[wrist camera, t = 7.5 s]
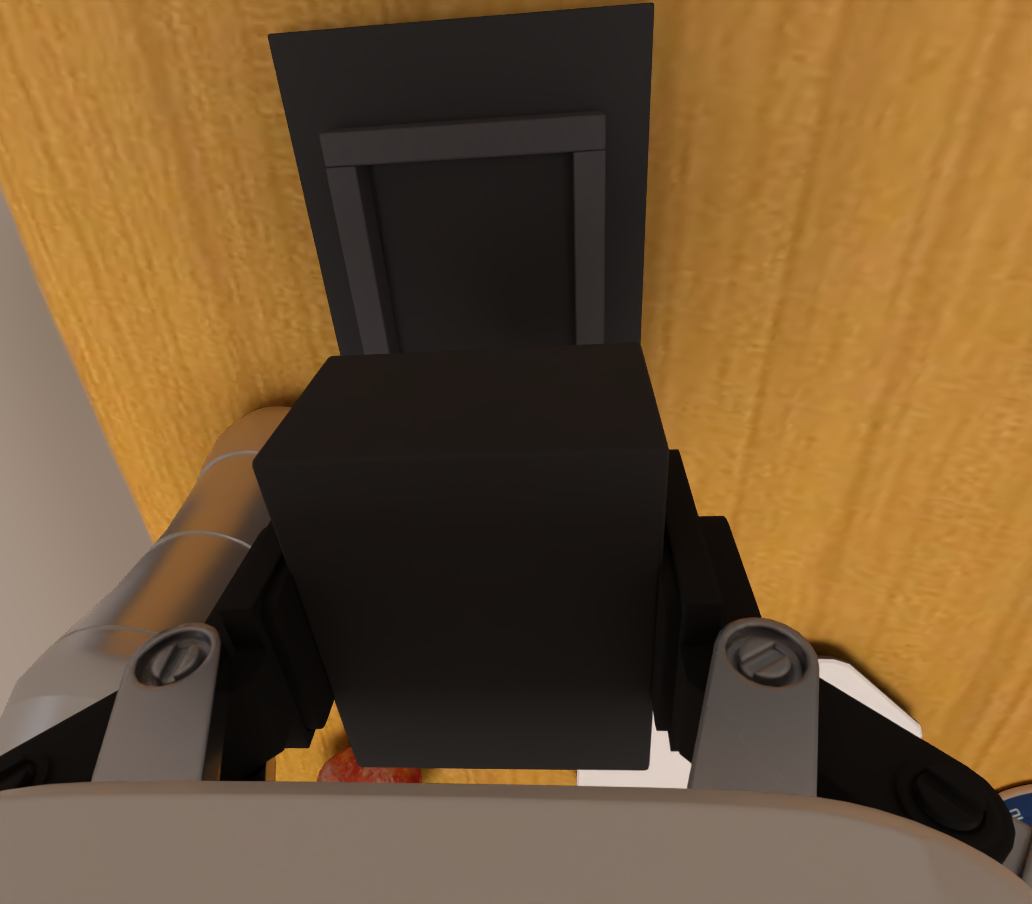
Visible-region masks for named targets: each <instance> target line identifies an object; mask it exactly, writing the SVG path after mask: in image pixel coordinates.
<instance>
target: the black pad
mask: <svg viewBox="0 0 1032 904" xmlns="http://www.w3.org/2000/svg"><path fill="white" fill-rule="evenodd" d="M668 466H669V448H668V444H667V441H666V437H665V433H664V429H663V426H662V422H661V418H660V415H659V411H658V407H657V404H656V400H655V396H654V392H653V389H652V385H651V381H650V378H649V374H648V370H647V367H646V363H645V359H644V356H643V352H642V348H641V345H640V343H637V342H627V343H605V344H584V345H562V346H541V347H519V348H498V349H476V350H455V351H433V352H412V353H390V354H369V355H348V356H331V357H329V358H328V359H327V360H326V362H325V363H324V364H323V366H322V367H321V368H320V370H319V371H318V373H317V374H316V375H315V377H314V378H313V379H312V381H311V382H310V383H309V385H308V386H307V387H306V389H305V390H304V391H303V393H302V394H301V396H300V397H299V398H298V400H297V401H296V402H295V404H294V405H293V406H292V408H291V409H290V410H289V412H288V413H287V414H286V416H285V417H284V419H283V420H282V421H281V423H280V424H279V425H278V427H277V428H276V429H275V431H274V432H273V433H272V435H271V436H270V438H269V439H268V440H267V442H266V443H265V444H264V446H263V447H262V448H261V450H260V451H259V452H258V454H257V455H256V456H255V458H254V459H253V462H252V468H253V471H254V474H255V476H256V479H257V482H258V485H259V488H260V491H261V493H262V496H263V499H264V502H265V505H266V508H267V510H268V513H269V516H270V519H271V522H272V525H273V527H274V530H275V533H276V536H277V539H278V541H279V544H280V547H281V550H282V553H283V556H284V558H285V561H286V564H287V567H288V570H289V573H290V575H291V578H292V581H293V583H294V586H295V589H296V592H297V595H298V598H299V600H300V603H301V606H302V609H303V612H304V615H305V617H306V620H307V623H308V626H309V629H310V632H311V634H312V637H313V640H314V643H315V646H316V649H317V651H318V654H319V657H320V660H321V663H322V665H323V668H324V671H325V674H326V677H327V680H328V682H329V685H330V688H331V691H332V694H333V697H334V700H335V703H336V706H337V708H338V711H339V714H340V717H341V720H342V723H343V725H344V728H345V731H346V734H347V737H348V740H349V742H350V745H351V748H352V751H353V754H354V756H355V759H356V762H357V765H358V766H360V767H378V768H463V769H549V770H634V771H645V770H648V768H649V765H650V749H651V733H652V718H653V707H652V683H653V667H654V650H655V634H656V617H657V601H658V584H659V568H660V567H661V565H662V560H663V544H664V529H665V513H666V497H667V481H668Z"/></svg>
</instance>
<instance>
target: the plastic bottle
mask: <svg viewBox="0 0 1032 904" xmlns="http://www.w3.org/2000/svg"><path fill="white" fill-rule="evenodd" d="M291 408H292V407H283V406H273V407H264V408H261V409H258V410H255V411H253V412H251V413H249V414H248V415H246V416H244V417H243V418H241V419H240V420H238V421H237V422H236V423H234V424H233V425H231V426H230V427H229V428H227V429H226V430H225V431H224V432H223V433H222V434H221V435H220V436H219V437H218V439H217V441H216V443H215V444H214V446H213V448H212V450H211V452H210V453H209V455H208V457H207V459H206V461H205V463H204V464H203V466H202V469H201V471H200V474H199V476H198V479H197V483H196V484H195V486H194V488H193V489H192V491H191V492H190V494H189V495H188V497H187V499H186V500H185V502H184V503H183V505H182V507H181V508H180V510H179V511H178V513H177V514H176V516H175V518H174V519H173V521H172V522H171V524H170V525H169V527H168V529H167V530H166V532H165V533H164V534H163V535H162V536H161V537H160V538H159V539H158V540H157V542H156V543H155V544H154V545H153V546H152V547H151V548H150V550H149V551H148V552H147V553H146V554H145V556H143V557H142V558H141V559H140V561H139V562H138V563H137V564H136V565H135V566H134V567H133V568H132V569H131V571H130V572H129V573H128V574H127V575H126V576H125V577H124V578H123V580H122V581H121V582H120V583H119V584H118V585H117V586H116V587H115V588H114V589H113V590H112V591H111V592H110V593H109V594H108V595H106V596H105V597H104V598H103V599H102V600H101V601H100V602H99V603H98V604H97V605H96V606H94V607H93V608H92V609H91V610H90V611H89V612H88V613H87V614H86V615H85V616H84V617H83V618H81V619H80V620H79V621H78V622H77V623H76V624H75V625H74V626H73V627H71V628H70V629H69V630H68V631H67V632H66V633H65V634H64V635H63V636H62V637H61V638H60V639H58V640H57V642H55V643H54V644H53V645H52V646H50V648H49V649H48V650H46V651H45V652H44V653H43V654H42V655H41V656H40V657H39V658H38V659H37V660H36V662H35V663H34V664H33V665H32V666H31V667H30V668H29V669H28V670H27V671H26V672H25V673H24V674H23V675H22V676H21V677H20V678H19V679H18V681H17V682H16V684H15V686H14V689H13V691H12V693H11V695H10V698H9V700H8V703H7V705H6V707H5V710H4V712H3V714H2V716H1V718H0V756H1V755H2V754H4V753H6V752H8V751H10V750H11V749H13V748H15V747H17V746H19V745H20V744H22V743H24V742H26V741H28V740H29V739H31V738H33V737H35V736H37V735H38V734H40V733H42V732H44V731H45V730H47V729H49V728H51V727H53V726H54V725H56V724H58V723H60V722H62V721H63V720H65V719H67V718H69V717H71V716H72V715H74V714H76V713H78V712H80V711H81V710H83V709H85V708H87V707H88V706H90V705H92V704H94V703H96V702H97V701H99V700H101V699H103V698H105V697H106V696H108V695H110V694H112V693H114V692H115V691H117V690H118V689H119V686H120V683H121V679H122V676H123V673H124V669H125V667H126V665H127V663H128V661H129V659H130V657H131V656H132V655H133V654H134V653H135V651H136V650H137V649H138V648H139V647H140V646H141V645H142V644H144V643H145V642H146V641H147V640H149V639H150V638H151V637H153V636H154V635H156V634H158V633H160V632H162V631H164V630H165V629H168V628H171V627H174V626H177V625H180V624H185V623H192V622H197V623H205V621H206V619H207V618H208V616H209V615H210V613H211V611H212V610H213V608H214V606H215V605H216V603H217V602H218V600H219V598H220V597H221V595H222V593H223V592H224V590H225V588H226V587H227V585H228V584H229V582H230V580H231V579H232V577H233V575H234V574H235V572H236V571H237V569H238V567H239V566H240V564H241V562H242V561H243V559H244V558H245V556H246V554H247V553H248V551H249V549H250V548H251V546H252V544H253V543H254V541H255V540H256V538H257V536H258V535H259V533H260V532H261V531H262V530H263V529H264V528H266V527H267V525H268V524H269V522H270V520H271V519H270V516H269V513H268V510H267V508H266V505H265V502H264V499H263V496H262V493H261V491H260V488H259V485H258V482H257V479H256V476H255V474H254V471H253V468H252V462H253V459H254V458H255V456H256V455H257V454H258V452H259V451H260V450H261V448H262V447H263V446H264V444H265V443H266V442H267V440H268V439H269V438H270V436H271V435H272V433H273V432H274V431H275V429H276V428H277V427H278V425H279V424H280V423H281V421H282V420H283V419H284V417H285V416H286V414H287V413H288V412H289V410H290V409H291Z"/></svg>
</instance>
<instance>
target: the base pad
mask: <svg viewBox="0 0 1032 904" xmlns="http://www.w3.org/2000/svg"><path fill="white" fill-rule="evenodd" d="M653 22H654V3H640V4H628V5H615V6H603V7H591V8H579V9H567V10H554V11H542V12H530V13H518V14H506V15H493V16H481V17H469V18H457V19H445V20H433V21H420V22H408V23H396V24H384V25H372V26H359V27H347V28H335V29H323V30H311V31H298V32H286V33H274V34H268V40H269V44H270V49H271V53H272V58H273V62H274V66H275V71H276V75H277V80H278V84H279V88H280V93H281V97H282V101H283V106H284V110H285V115H286V119H287V123H288V128H289V132H290V136H291V141H292V145H293V150H294V154H295V158H296V163H297V167H298V172H299V176H300V180H301V185H302V189H303V193H304V198H305V202H306V207H307V211H308V215H309V220H310V224H311V228H312V233H313V237H314V242H315V246H316V250H317V255H318V259H319V264H320V268H321V272H322V277H323V281H324V285H325V290H326V294H327V299H328V303H329V307H330V312H331V316H332V320H333V325H334V329H335V334H336V338H337V342H338V347H339V351H340V356H348V355H369V354H390V353H412V352H433V351H455V350H476V349H498V348H519V347H541V346H562V345H584V344H605V343H627V342H637V343H640V341H641V317H642V292H643V267H644V243H645V218H646V194H647V169H648V145H649V120H650V96H651V71H652V47H653Z"/></svg>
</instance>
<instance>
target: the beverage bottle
mask: <svg viewBox="0 0 1032 904" xmlns="http://www.w3.org/2000/svg"><path fill="white" fill-rule="evenodd" d="M998 794H999V795H1000V796H1001V798H1002V799H1003V801H1004V803H1005V805H1006V806H1007V808H1008V810H1009V811H1010V813H1011V815H1012V816H1013V817H1015V818H1017V819H1018V820H1020V821H1022V822H1023V823H1025V824H1027V825H1029V826H1030V827H1032V784H1029V785H1023V786H1019V787H1015V788H1011V789H1008V790H1005V791H1002V792H1000V793H998Z"/></svg>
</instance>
